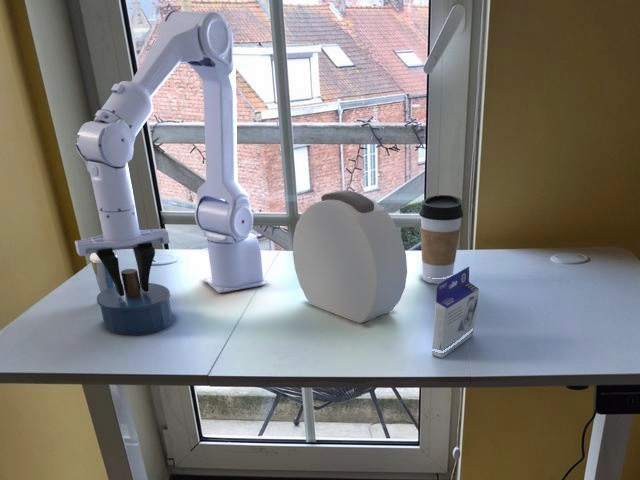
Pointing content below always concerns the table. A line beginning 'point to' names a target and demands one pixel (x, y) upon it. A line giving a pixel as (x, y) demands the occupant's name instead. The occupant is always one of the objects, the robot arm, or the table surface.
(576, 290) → the table surface
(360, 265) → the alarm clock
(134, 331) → the tin
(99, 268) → the milkshake
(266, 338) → the table surface
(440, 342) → the ink box
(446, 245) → the coffee cup
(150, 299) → the lid
